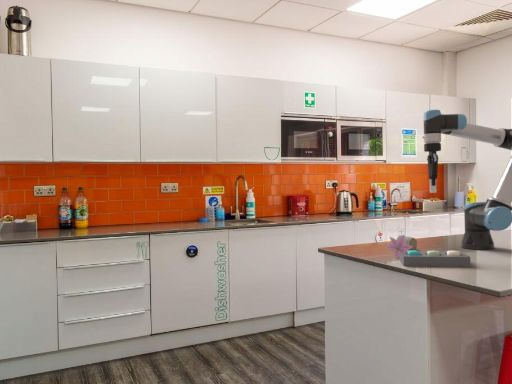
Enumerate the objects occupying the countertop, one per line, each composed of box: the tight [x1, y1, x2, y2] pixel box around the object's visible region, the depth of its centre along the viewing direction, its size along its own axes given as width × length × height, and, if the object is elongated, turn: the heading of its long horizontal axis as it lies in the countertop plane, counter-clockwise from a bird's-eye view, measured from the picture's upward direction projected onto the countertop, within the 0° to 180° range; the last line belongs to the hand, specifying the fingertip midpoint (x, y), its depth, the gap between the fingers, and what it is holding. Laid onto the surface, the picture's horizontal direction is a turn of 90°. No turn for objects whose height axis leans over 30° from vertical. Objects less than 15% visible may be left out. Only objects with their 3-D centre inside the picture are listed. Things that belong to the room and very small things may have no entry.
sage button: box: [426, 250, 441, 255], centre depth 186 cm, size 5×5×4 cm
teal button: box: [408, 250, 421, 255], centre depth 187 cm, size 5×5×4 cm
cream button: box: [446, 250, 461, 256], centre depth 184 cm, size 5×5×4 cm
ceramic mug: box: [396, 234, 418, 251], centre depth 220 cm, size 11×8×8 cm
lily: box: [384, 234, 413, 259], centre depth 204 cm, size 12×12×10 cm
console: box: [399, 251, 471, 268], centre depth 186 cm, size 26×12×4 cm, turn 79°
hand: (433, 192), depth 208 cm, fingers closed
